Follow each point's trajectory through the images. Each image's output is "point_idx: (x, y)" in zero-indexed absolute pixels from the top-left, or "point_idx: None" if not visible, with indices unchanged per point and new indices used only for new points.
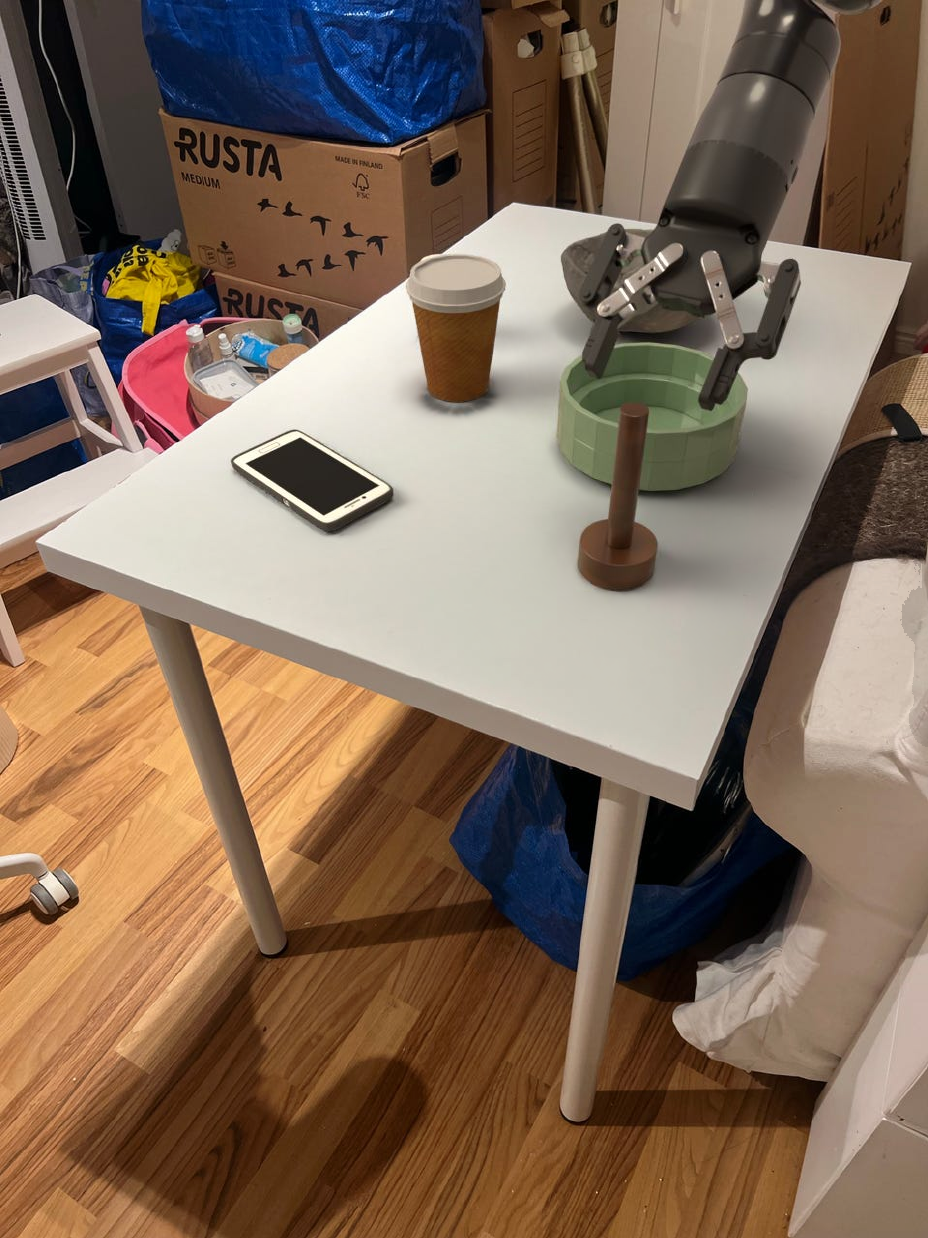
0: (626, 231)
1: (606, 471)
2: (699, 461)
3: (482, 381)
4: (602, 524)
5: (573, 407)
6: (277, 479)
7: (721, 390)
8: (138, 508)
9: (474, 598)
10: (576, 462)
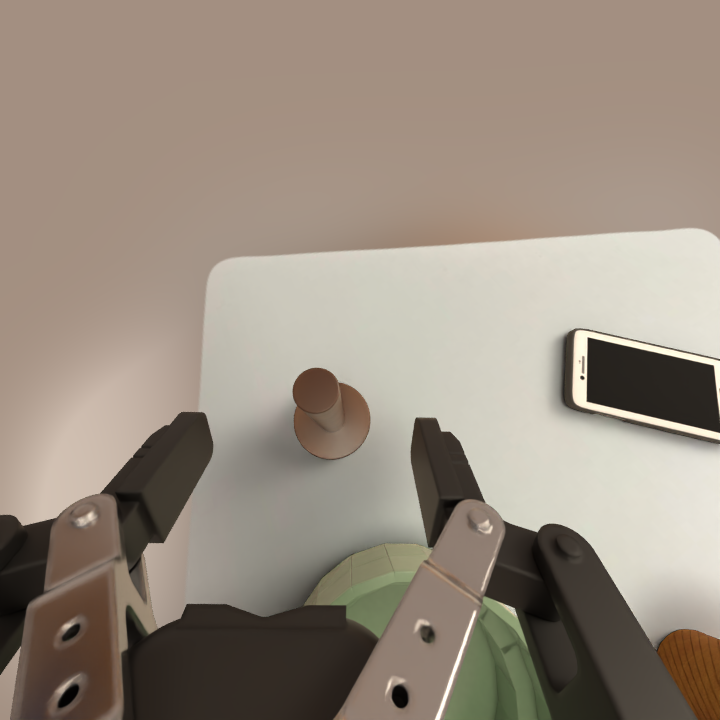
0: None
1: (403, 548)
2: None
3: None
4: (357, 436)
5: None
6: (667, 360)
7: (156, 436)
8: (715, 285)
9: (415, 327)
10: None
